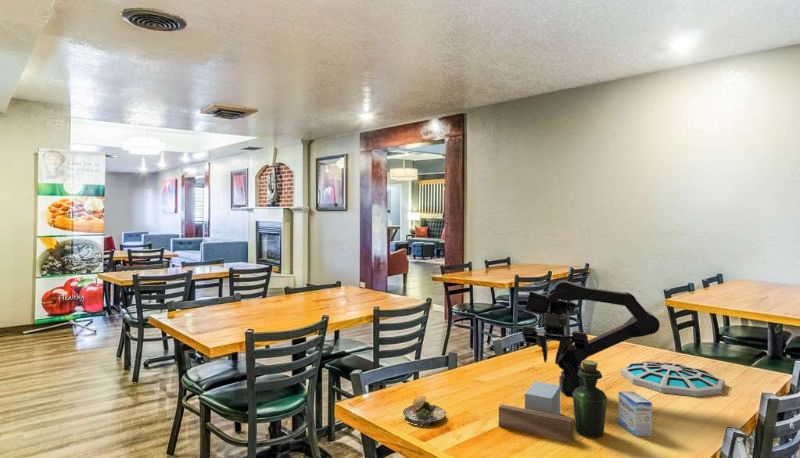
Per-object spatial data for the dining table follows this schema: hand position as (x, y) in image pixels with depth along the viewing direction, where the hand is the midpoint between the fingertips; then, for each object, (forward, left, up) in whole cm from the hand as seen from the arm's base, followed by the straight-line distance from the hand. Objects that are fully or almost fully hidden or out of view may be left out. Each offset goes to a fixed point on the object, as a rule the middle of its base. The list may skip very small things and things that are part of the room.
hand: (550, 362), depth 134 cm
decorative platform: (-48, -21, -13) cm, 54 cm away
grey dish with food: (+38, +8, -13) cm, 41 cm away
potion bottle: (-4, +18, -13) cm, 22 cm away
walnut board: (+10, +17, -13) cm, 23 cm away
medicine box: (-16, +16, -13) cm, 26 cm away
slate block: (+5, +9, -13) cm, 16 cm away
